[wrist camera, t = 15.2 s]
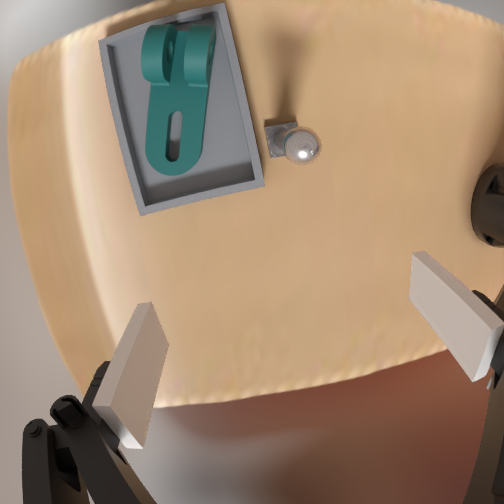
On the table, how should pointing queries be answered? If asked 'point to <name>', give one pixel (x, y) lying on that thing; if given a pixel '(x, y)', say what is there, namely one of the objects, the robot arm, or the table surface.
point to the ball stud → (293, 143)
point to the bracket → (177, 91)
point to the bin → (216, 125)
